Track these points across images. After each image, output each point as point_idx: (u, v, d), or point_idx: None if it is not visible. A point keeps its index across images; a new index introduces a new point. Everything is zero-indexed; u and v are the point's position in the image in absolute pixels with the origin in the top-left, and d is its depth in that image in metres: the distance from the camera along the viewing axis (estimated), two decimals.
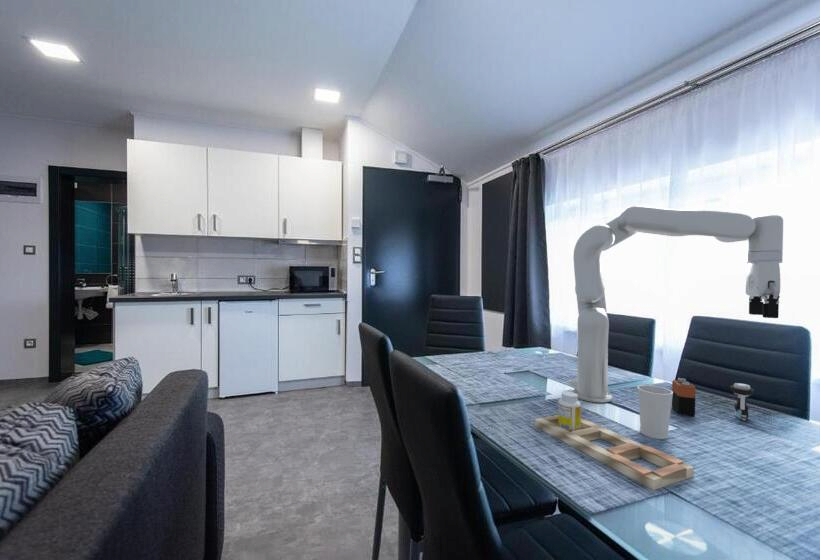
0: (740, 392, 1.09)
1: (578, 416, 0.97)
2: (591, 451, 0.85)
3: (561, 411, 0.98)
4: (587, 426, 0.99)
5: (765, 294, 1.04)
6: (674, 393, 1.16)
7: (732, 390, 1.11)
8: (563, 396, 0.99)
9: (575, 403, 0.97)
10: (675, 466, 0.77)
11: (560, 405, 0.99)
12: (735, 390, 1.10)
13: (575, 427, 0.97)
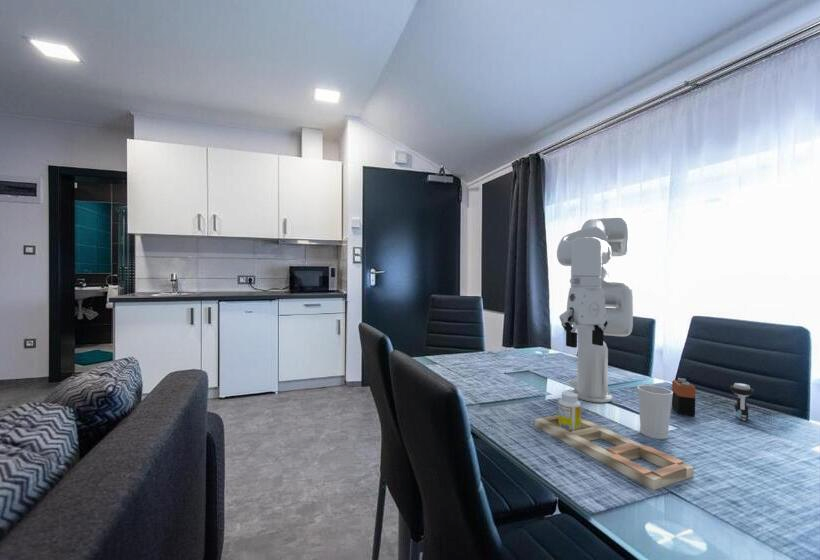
0: (740, 392, 1.09)
1: (578, 416, 0.97)
2: (591, 451, 0.85)
3: (561, 411, 0.98)
4: (587, 426, 0.99)
5: None
6: (674, 393, 1.16)
7: (732, 390, 1.11)
8: (563, 396, 0.99)
9: (575, 403, 0.97)
10: (675, 466, 0.77)
11: (560, 405, 0.99)
12: (735, 390, 1.10)
13: (575, 427, 0.97)
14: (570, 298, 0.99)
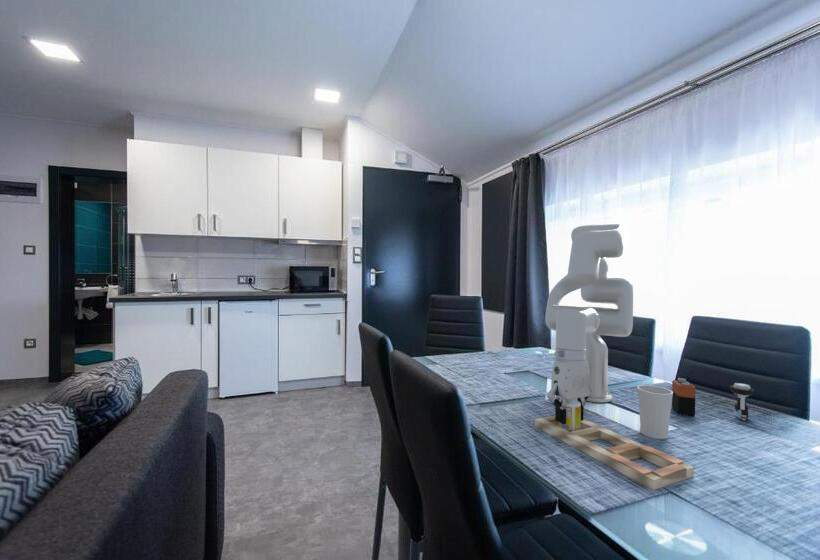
0: (740, 392, 1.09)
1: (578, 416, 0.97)
2: (591, 451, 0.85)
3: None
4: (587, 426, 0.99)
5: None
6: (674, 393, 1.16)
7: (732, 390, 1.11)
8: None
9: (575, 403, 0.97)
10: (675, 466, 0.77)
11: None
12: (735, 390, 1.10)
13: (575, 427, 0.97)
14: (555, 370, 0.98)
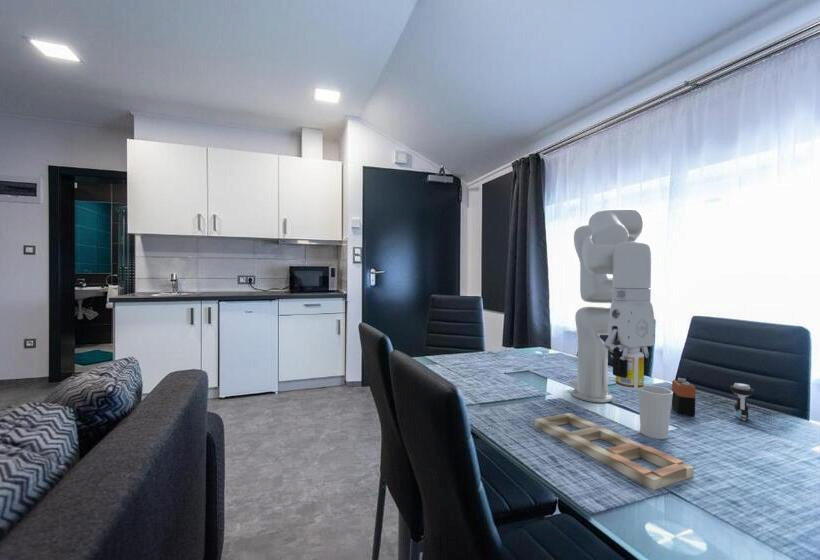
0: (740, 392, 1.09)
1: (642, 368, 0.81)
2: (591, 451, 0.85)
3: None
4: (587, 426, 0.99)
5: None
6: (674, 393, 1.16)
7: (732, 390, 1.11)
8: None
9: (638, 353, 0.82)
10: (675, 466, 0.77)
11: None
12: (735, 390, 1.10)
13: (638, 381, 0.81)
14: (613, 314, 0.83)
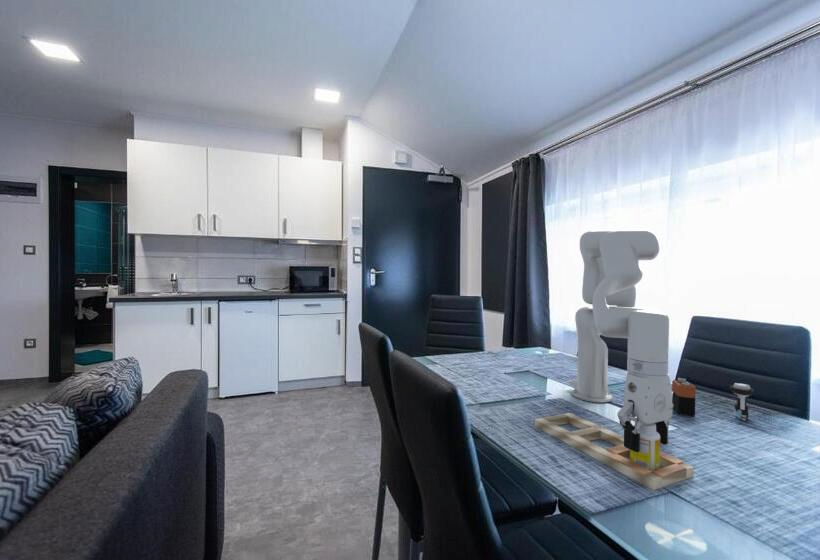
0: (740, 392, 1.09)
1: (658, 451, 0.78)
2: (591, 451, 0.85)
3: None
4: (587, 426, 0.99)
5: None
6: (674, 393, 1.16)
7: (732, 390, 1.11)
8: None
9: (654, 435, 0.78)
10: (675, 466, 0.77)
11: None
12: (735, 390, 1.10)
13: (654, 464, 0.78)
14: (628, 387, 0.79)
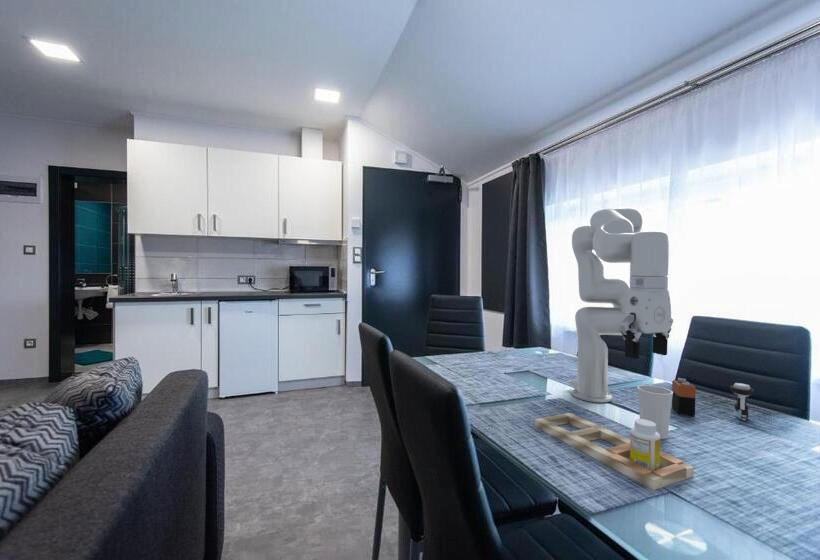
0: (740, 392, 1.09)
1: (658, 451, 0.78)
2: (591, 451, 0.85)
3: (636, 444, 0.79)
4: (587, 426, 0.99)
5: None
6: (674, 393, 1.16)
7: (732, 390, 1.11)
8: (638, 425, 0.80)
9: (654, 435, 0.78)
10: (675, 466, 0.77)
11: (634, 437, 0.80)
12: (735, 390, 1.10)
13: (654, 464, 0.78)
14: (630, 302, 0.85)
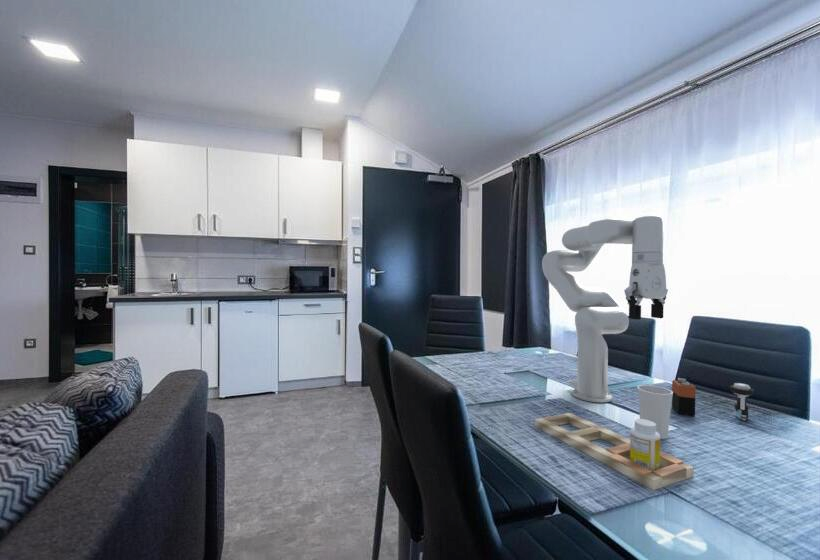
0: (740, 392, 1.09)
1: (658, 451, 0.78)
2: (591, 451, 0.85)
3: (636, 444, 0.79)
4: (587, 426, 0.99)
5: None
6: (674, 393, 1.16)
7: (732, 390, 1.11)
8: (638, 425, 0.80)
9: (654, 435, 0.78)
10: (675, 466, 0.77)
11: (634, 437, 0.80)
12: (735, 390, 1.10)
13: (654, 464, 0.78)
14: (633, 273, 1.04)
